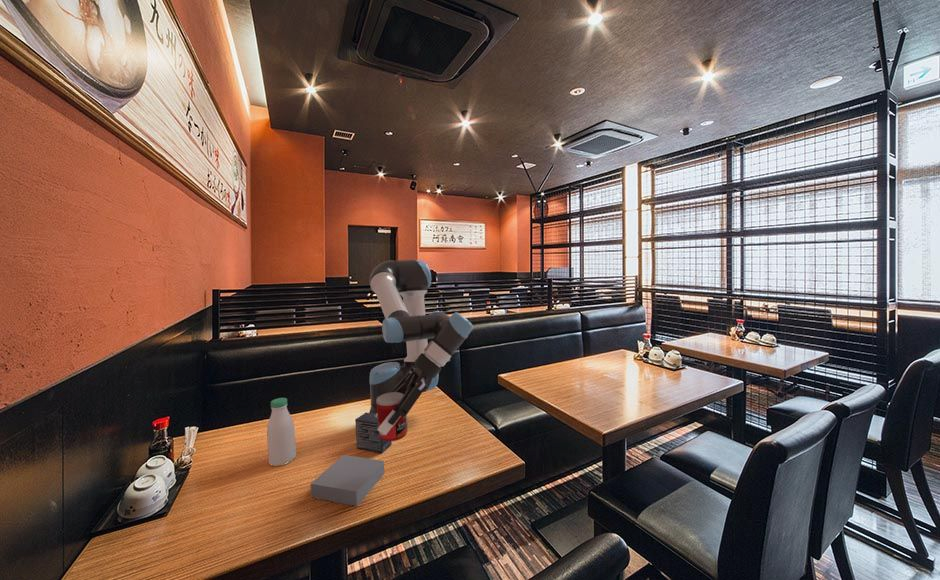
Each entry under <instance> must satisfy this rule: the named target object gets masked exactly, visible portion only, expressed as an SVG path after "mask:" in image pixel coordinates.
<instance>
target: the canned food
mask: <svg viewBox="0 0 940 580" xmlns="http://www.w3.org/2000/svg"><path fill="white" fill-rule="evenodd" d="M403 396H404V394H402V393H399V392H390V393H386V394H383V395H380V396H379V397H378V398H377V399H376V404H377V415H378V425H379V426H380V425H381V424H382V423H383V421H384V420H385V419H386V418H387V416H388V415H389V414H390V413H391V411H392V409H393V408H396V407H397V405H398V404H399V402H400V400H401V399H402V397H403ZM407 418H408V417H407V415H406V416H405V417H404V416H401V417H400V418H399V419H398V420H397V422H396V423H395V424H394V425H393V427H392V428H391V429H390V431H389V432H388V433H387V434H386V435H384V434H383V433H381V432H379V435H380V437H381V439H382V440H385V441H392V442H394V441H395V442H396V441H398V440H401V439H403V438H404V437H406V435H407V434H408V420H407Z"/></svg>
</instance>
